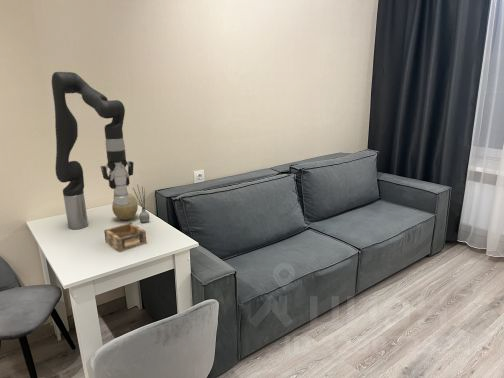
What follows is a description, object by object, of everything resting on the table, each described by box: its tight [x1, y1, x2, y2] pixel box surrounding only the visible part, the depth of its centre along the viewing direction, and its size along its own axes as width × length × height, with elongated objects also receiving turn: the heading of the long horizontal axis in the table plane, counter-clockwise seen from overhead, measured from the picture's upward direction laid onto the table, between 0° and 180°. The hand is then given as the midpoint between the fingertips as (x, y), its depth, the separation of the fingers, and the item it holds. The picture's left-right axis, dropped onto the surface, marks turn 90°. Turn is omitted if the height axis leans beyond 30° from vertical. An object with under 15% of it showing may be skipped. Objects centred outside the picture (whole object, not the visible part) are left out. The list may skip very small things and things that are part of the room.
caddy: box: [103, 222, 148, 253], centre depth 170 cm, size 14×13×6 cm
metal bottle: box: [111, 161, 130, 206], centre depth 163 cm, size 6×7×20 cm
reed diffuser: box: [132, 184, 150, 223], centre depth 193 cm, size 10×7×20 cm
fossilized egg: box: [111, 192, 139, 221], centre depth 198 cm, size 13×13×15 cm
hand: (119, 186), depth 163 cm, fingers closed on metal bottle, 6 cm apart
